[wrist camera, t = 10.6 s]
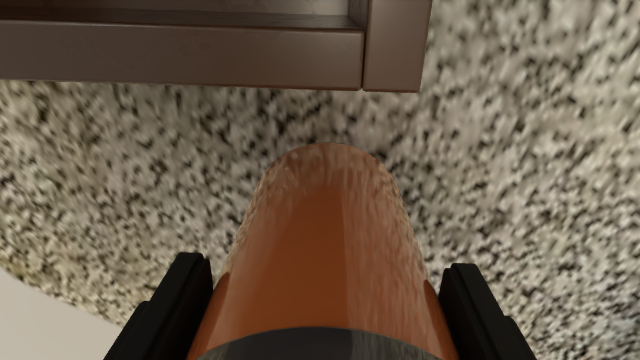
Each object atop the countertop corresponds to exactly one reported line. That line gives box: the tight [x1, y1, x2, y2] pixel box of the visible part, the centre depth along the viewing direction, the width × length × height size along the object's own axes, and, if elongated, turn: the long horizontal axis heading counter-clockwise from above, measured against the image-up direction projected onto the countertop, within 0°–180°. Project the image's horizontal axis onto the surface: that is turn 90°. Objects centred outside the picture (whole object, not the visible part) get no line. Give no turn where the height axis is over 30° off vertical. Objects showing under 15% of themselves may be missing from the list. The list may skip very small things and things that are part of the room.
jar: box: [185, 143, 460, 360], centre depth 10 cm, size 6×6×10 cm
